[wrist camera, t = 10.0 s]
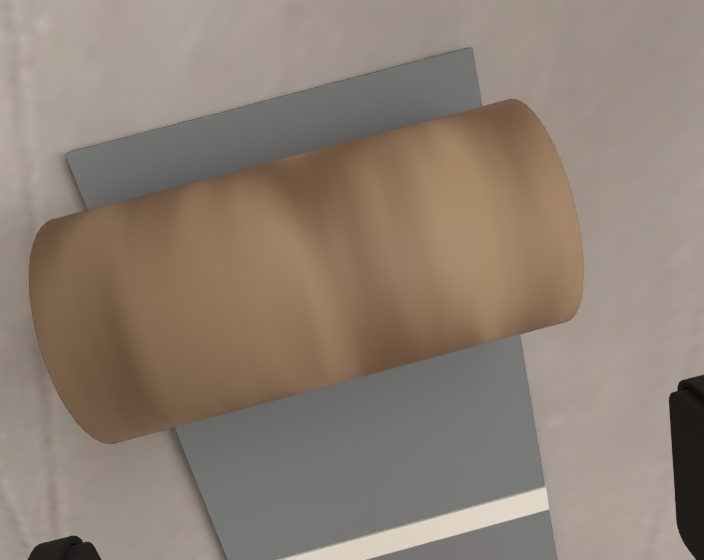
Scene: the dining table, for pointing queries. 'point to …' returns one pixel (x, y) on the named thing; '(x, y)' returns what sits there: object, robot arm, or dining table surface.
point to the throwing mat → (361, 393)
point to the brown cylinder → (306, 271)
